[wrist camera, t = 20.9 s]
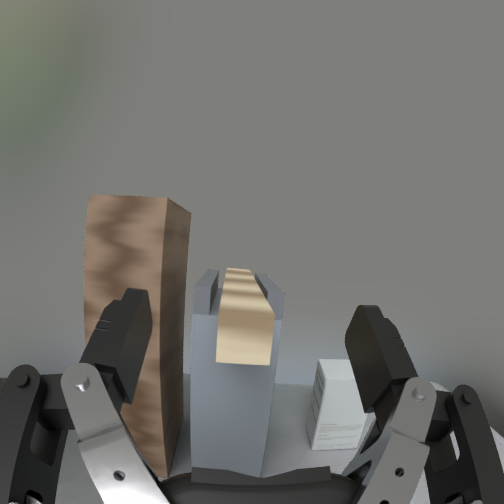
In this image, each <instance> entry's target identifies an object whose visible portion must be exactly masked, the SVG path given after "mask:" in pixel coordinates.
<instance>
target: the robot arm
mask: <svg viewBox="0 0 504 504" xmlns="http://www.w3.org/2000/svg"><path fill="white" fill-rule="evenodd" d="M152 326H153V320H152V313H151V307H150V300H149V294H148V291H147V290H145V289H136V288H127V289H126V291H125V293H124V295H123V297H122V299H121V300H113V301H112V302H111V303H110V304H108V305H107V306H106V307H105V308H104V310H103V312H102V314H101V316H100V318H99V321H98V322H97V324H96V327H95V329H94V331H93V333H92V335H91V337H90V339H89V342H88V344H87V346H86V348H85V350H84V353H83V355H82V357H81V360H80V362H79V363H77V364H74V365H71V366H70V367H68V368H67V369H66V370H65V371H64V373H63V374H50V375H40V374H39V373H38V371H37V370H36V369H35V368H34V367H33V366H31V365H20V366H18V367H16V368H15V369H14V370H13V371H12V372H11V373H10V375H9V377H8V379H7V381H6V384H5V386H4V388H3V391H2V393H1V396H0V504H55V497H56V490H57V484H58V477H59V472H60V466H61V461H62V456H63V451H64V447H65V442H66V438H67V434H68V430H73V429H76V432H77V434H78V437H79V441H78V442H77V444H78V448H79V451H80V454H81V456H82V458H83V461H84V463H85V465H86V467H87V469H88V472H89V474H90V476H91V478H92V480H93V482H94V484H95V486H96V488H97V490H98V492H99V494H100V495H101V497H102V499H103V501H104V503H105V504H410V501H411V499H412V497H413V494H414V492H415V490H416V487H417V485H418V482H419V479H420V477H421V474H422V472H423V469H424V470H425V475H426V480H427V486H428V491H429V497H430V503H431V504H504V473H503V469H502V465H501V461H500V458H499V454H498V451H497V448H496V444H495V441H494V438H493V435H492V432H491V429H490V426H489V424H488V421H487V418H486V415H485V413H484V410H483V407H482V405H481V402H480V400H479V397H478V395H477V393H476V392H475V390H474V389H473V388H471V387H470V386H468V385H459V386H457V388H455V389H454V390H453V392H452V393H451V392H444V391H437V390H435V388H434V387H433V385H432V384H431V383H430V382H429V381H427V380H426V379H424V378H420V377H418V375H417V372H416V370H415V368H414V366H413V363H412V361H411V358H410V356H409V354H408V352H407V350H406V347H404V343H403V341H402V339H401V337H400V334H399V332H398V330H397V328H396V327H395V325H394V324H392V322H391V321H390V320H389V319H388V318H384V317H383V315H382V313H381V311H380V308H379V307H378V306H376V305H359V306H358V307H357V309H356V311H355V313H354V316H353V318H352V320H351V322H350V325H349V327H348V329H347V331H346V335H345V346H346V350H347V353H348V356H349V360H350V363H351V366H352V370H353V373H354V377H355V381H356V384H357V388H358V391H359V395H360V399H361V403H362V406H363V410H364V413H372V412H375V415H376V418H375V419H374V420H373V422H372V424H371V426H370V428H369V430H368V432H367V434H366V436H365V438H364V440H363V442H362V444H361V446H360V448H359V450H358V451H357V453H356V455H355V457H354V458H353V460H352V461H351V462H350V463H349V464H348V466H347V467H346V468H345V469H344V471H343V472H342V474H341V475H340V474H335V473H331V472H330V466H326V467H316V468H306V469H296V470H293V471H290V472H286V473H283V474H279V475H275V476H271V477H267V478H259V477H254V476H250V475H246V474H242V473H238V472H234V471H230V470H224V469H210V468H199V467H192V473H184V474H180V475H176V476H173V477H170V478H168V479H166V480H164V481H162V482H161V481H160V480H159V478H158V477H157V475H156V474H155V472H154V471H153V469H152V467H151V466H150V464H149V463H148V461H147V460H146V458H145V457H144V455H143V454H142V452H141V450H140V448H139V447H138V445H137V443H136V441H135V440H134V438H133V436H132V434H131V432H130V431H129V429H128V427H127V425H126V423H125V421H124V419H123V417H122V415H121V413H120V411H121V408H122V404H123V403H127V404H131V405H132V402H133V398H134V395H135V391H136V387H137V383H138V379H139V376H140V372H141V368H142V365H143V361H144V358H145V354H146V351H147V347H148V344H149V340H150V337H151V333H152ZM453 431H454V433H455V437H456V440H457V444H458V447H459V451H460V455H459V459H458V460H457V459H456V455H455V451H454V448H453V444H452V440H451V437H450V433H452V432H453Z"/></svg>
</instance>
